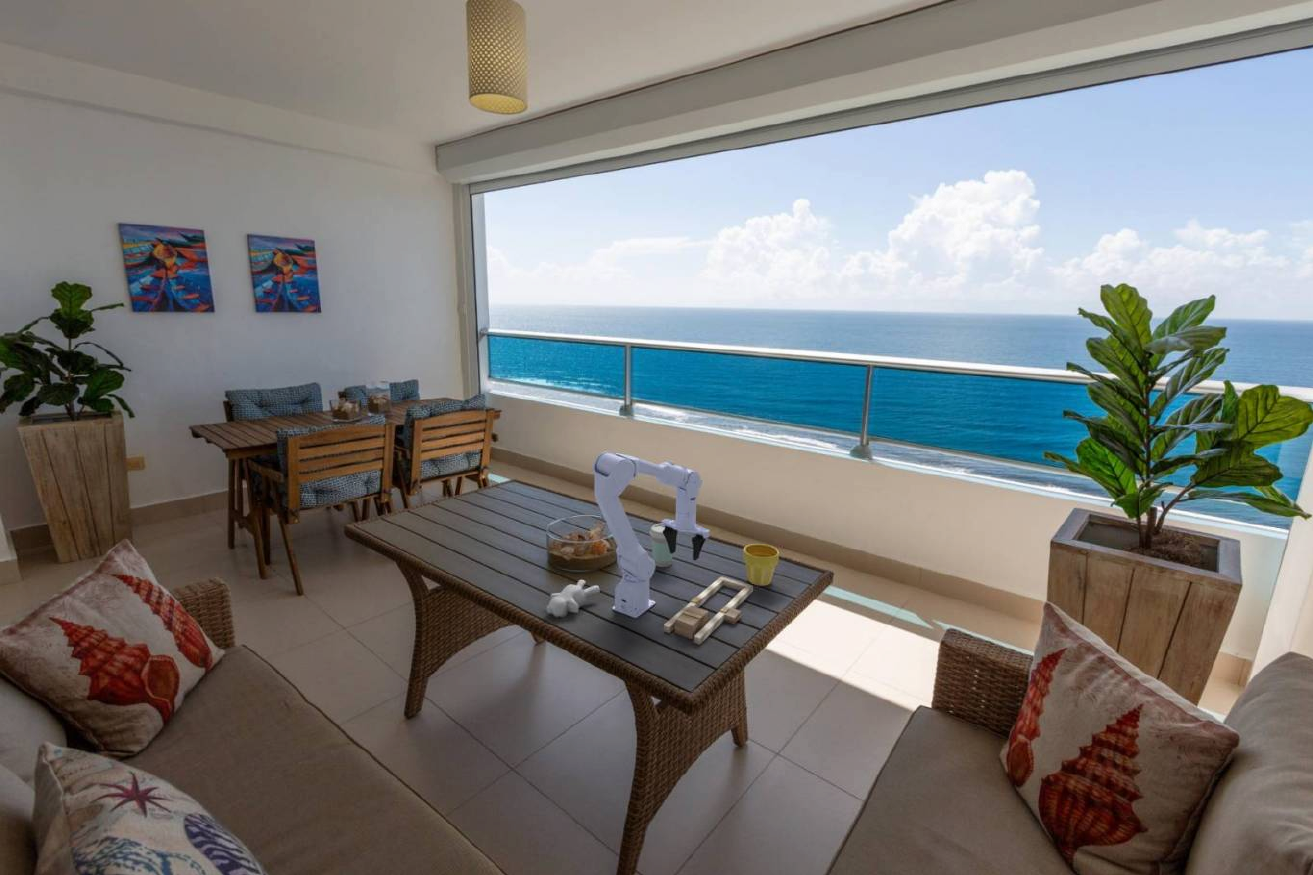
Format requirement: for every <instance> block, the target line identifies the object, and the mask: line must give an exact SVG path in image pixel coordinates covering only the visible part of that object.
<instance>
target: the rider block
mask: <svg viewBox="0 0 1313 875" xmlns="http://www.w3.org/2000/svg"><path fill="white" fill-rule="evenodd" d="M708 622H709V611H708V610H705V609H703V608H700V607H698V608H697V607H694V606H690V607H689V608H688V609H687V610H685V611H683V612H682V614H681V615H679V616H678V617H677V618H676V619H675V629H674V634H677V635H680V636H682V637H684V638H688V639H690V640H694V636H695V635H696V634H697V633H698V632H699V631H700V630H701V629H702V628H703V627H704V626H705V625H706V624H707V623H708Z"/></svg>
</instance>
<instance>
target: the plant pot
mask: <svg viewBox="0 0 1313 875" xmlns="http://www.w3.org/2000/svg"><path fill="white" fill-rule="evenodd" d="M742 553H743V554H742V555H743V556H742V557H743V558H742V560H743V562H744V563H745V568H746V574H747V580H748V582H750V584H752V585H755V586H759V587H763V586H767V585H770V584H771V583H772V578H773V576H774V572H775V569H776V566H778V564H779V559H780V552H779V550H778V549H777V547H774V546H772V545H770V544H762V543H751V544H748V545H745V546H744V547H743V551H742Z"/></svg>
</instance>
